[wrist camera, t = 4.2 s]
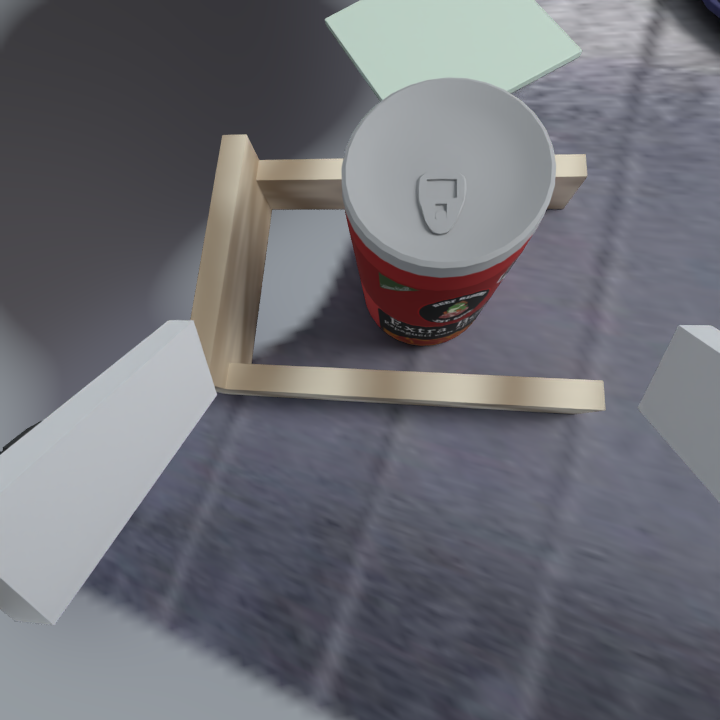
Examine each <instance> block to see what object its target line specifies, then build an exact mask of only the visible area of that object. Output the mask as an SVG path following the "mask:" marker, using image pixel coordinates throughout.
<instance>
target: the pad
mask: <svg viewBox="0 0 720 720" xmlns="http://www.w3.org/2000/svg"><path fill="white" fill-rule="evenodd" d="M325 23H326V26H327V27H328V29H329V30H330V31H331V33H332V34H333V36H334V37H335V38H336V40H337V41H338V43H339V44H340V45H341V47H342V48H343V49H344V51H345V52H346V54H347V55H348V57H349V58H350V60H351V61H352V62H353V64H354V65H355V67H356V68H357V69H358V71H359V72H360V74H361V75H362V77H363V78H364V79H365V81H366V82H367V84H368V85H369V86H370V88H371V89H372V90H373V92H374V93H375V95H376V96H377V98H378V99H379V100H380V101H382V100H383V99H385V98H386V97H388V96H389V95H390V94H392V93H394V92H396V91H398V90H400V89H402V88H404V87H407V86H409V85H412V84H415V83H419V82H422V81H426V80H431V79H439V78H468V79H473V80H477V81H482V82H486V83H489V84H492V85H494V86H496V87H499V88H501V89H504V90H506V91H507V92H509V93H510V94H511V93H513V92H515V91H516V90H518V89H520V88H522V87H524V86H526V85H528V84H529V83H531V82H533V81H535V80H537V79H539V78H541V77H543V76H544V75H546V74H548V73H550V72H552V71H554V70H556V69H557V68H559V67H561V66H563V65H565V64H567V63H569V62H570V61H572V60H574V59H576V58H578V57H580V55H581V53H582V50H581V49H580V48H579V47H578V46H577V45H576V43H575V42H574V41H573V40H572V39H571V38H570V37H569V36H568V35H567V34H566V33H565V32H564V31H563V30H562V29H561V28H560V27H559V26H558V25H557V24H556V23H555V21H554V20H553V19H552V18H551V17H550V16H549V15H548V14H547V13H546V12H545V11H544V10H543V9H542V8H541V7H540V6H539V5H538V4H537V3H536V2H535V1H534V0H360V1H358V2H356V3H354V4H353V5H351V6H349V7H347V8H345V9H343V10H341V11H339V12H337V13H336V14H334V15H332V16H330V17H328V18H326V19H325Z"/></svg>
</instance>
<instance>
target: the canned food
mask: <svg viewBox="0 0 720 720" xmlns="http://www.w3.org/2000/svg"><path fill="white" fill-rule="evenodd" d="M341 169H342V198H343V202H344V207H345V213H346V218H347V223H348V227H349V231H350V236H351V240H352V244H353V249H354V253H355V257H356V262H357V266H358V270H359V275H360V279H361V284H362V288H363V292H364V297H365V301H366V305H367V308H368V310H369V312H370V314H371V316H372V318H373V319H374V320H375V322H376V323H377V325H378V326H379V327H380V328H381V329H382V330H384V331H385V332H386V333H387V334H388V335H390V336H392V337H393V338H395V339H397V340H399V341H402V342H405V343H408V344H413V345H419V346H426V345H436V344H440V343H444V342H447V341H449V340H451V339H453V338H455V337H457V336H458V335H460V334H461V333H462V332H464V331H465V330H466V329H467V328H468V327H469V326H470V325H471V324H472V323H473V321H474V320H475V319H476V317H477V316H478V315H479V313H480V312H481V310H482V309H483V307H484V306H485V304H486V303H487V302H488V300H489V299H490V297H491V296H492V294H493V293H494V291H495V290H496V289H497V287H498V286H499V284H500V283H501V281H502V280H503V279H504V277H505V276H506V274H507V273H508V271H509V270H510V268H511V267H512V266H513V264H514V263H515V261H516V260H517V258H518V257H519V255H520V254H521V253H522V251H523V250H524V248H525V246H526V244H527V243H528V241H529V240H530V238H531V237H532V235H533V234H534V232H535V231H536V229H537V227H538V225H539V224H540V222H541V220H542V218H543V216H544V214H545V211H546V209H547V207H548V206H549V203H550V200H551V197H552V193H553V190H554V187H555V177H556V162H555V155H554V149H553V145H552V143H551V141H550V138H549V136H548V133H547V131H546V129H545V127H544V126H543V124H542V123H541V121H540V120H539V119H538V117H537V116H536V114H535V113H534V112H533V111H532V110H531V109H530V108H529V107H528V106H527V105H526V104H524V103H523V102H522V101H521V100H520V99H518V98H517V97H515V96H514V95H512V94H510V93H509V92H507V91H506V90H504V89H501V88H499V87H496V86H494V85H492V84H489V83H486V82H482V81H477V80H473V79H468V78H439V79H431V80H426V81H422V82H419V83H415V84H412V85H409V86H407V87H404V88H402V89H400V90H398V91H396V92H394V93H392V94H390V95H389V96H388V97H386V98H385V99H383V100H382V101H380V102H379V103H378V104H376V105H375V106H374V107H373V108H372V109H371V110H370V111H369V112H368V113H367V114H366V115H365V116H364V117H363V118H362V120H361V121H360V123H359V124H358V126H357V127H356V129H355V130H354V131H353V133H352V135H351V137H350V140H349V142H348V144H347V147H346V149H345V153H344V158H343V163H342V168H341Z"/></svg>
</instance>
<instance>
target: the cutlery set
mask: <svg viewBox="0 0 720 720" xmlns="http://www.w3.org/2000/svg"><path fill="white" fill-rule="evenodd" d="M702 1H703V3H704V4H705V6H706V7H707V8H708V9H709V10H710V11H711V12H712V13H714V14H715V15H716V16H718V17H719V18H720V0H702Z"/></svg>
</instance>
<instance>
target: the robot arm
mask: <svg viewBox="0 0 720 720" xmlns="http://www.w3.org/2000/svg"><path fill="white" fill-rule="evenodd" d="M216 396H217V393H216V390H215V386H214V383H213V380H212V377H211V374H210V371H209V368H208V364H207V361H206V358H205V355H204V352H203V349H202V346H201V342H200V339H199V336H198V333H197V330H196V327H195V324H194V320H168V321H167V322H166V323H165V324H163V325H162V326H161V327H160V328H158V329H157V330H156V331H155V332H153V333H152V334H151V335H150V336H148V337H147V338H146V339H145V340H143V341H142V342H141V343H140V344H138V345H137V346H136V347H135V348H133V349H132V350H131V351H130V352H128V353H127V354H126V355H125V356H123V357H122V358H121V359H119V360H118V361H117V362H116V363H114V364H113V365H112V366H111V367H109V368H108V369H107V370H106V371H105V372H103V373H102V374H101V375H99V376H98V377H97V378H96V379H95V380H93V381H92V382H91V383H89V384H88V385H87V386H86V387H85V388H83V389H82V390H81V391H79V392H78V393H77V394H76V395H74V396H73V397H72V398H71V399H70V400H68V401H67V402H66V403H65V404H63V405H62V406H61V407H59V408H58V409H57V410H56V411H54V412H53V413H52V414H51V415H49V416H48V417H47V418H46V419H44V420H42V421H40V422H38V423H37V424H35V425H33V426H31V427H29V428H27V429H26V430H25V431H24V432H22V433H21V434H20V435H18V436H17V437H16V438H14V439H13V440H12V441H11V442H9V443H8V444H7V445H6V446H4V447H3V451H2V452H0V609H1V610H2V611H3V612H4V613H6V614H7V615H8V616H9V617H11V618H12V619H13V620H14V621H17V622H26V623H35V624H44V625H55V624H56V622H57V621H58V619H59V618H60V616H61V615H62V614H63V612H64V610H65V609H66V608H67V607H68V605H69V604H70V602H71V601H72V599H73V598H74V597H75V595H76V594H77V592H78V591H79V590H80V588H81V587H82V585H83V584H84V582H85V581H86V580H87V578H88V577H89V575H90V574H91V573H92V571H93V570H94V568H95V567H96V565H97V564H98V563H99V561H100V560H101V558H102V557H103V556H104V554H105V553H106V551H107V550H108V549H109V547H110V546H111V544H112V543H113V541H114V540H115V539H116V537H117V536H118V534H119V533H120V532H121V530H122V529H123V527H124V526H125V524H126V523H127V522H128V520H129V519H130V517H131V516H132V515H133V513H134V512H135V510H136V509H137V507H138V506H139V505H140V503H141V502H142V500H143V499H144V498H145V496H146V495H147V493H148V492H149V490H150V489H151V488H152V486H153V485H154V483H155V482H156V481H157V479H158V478H159V476H160V475H161V473H162V472H163V471H164V469H165V468H166V466H167V465H168V464H169V462H170V461H171V459H172V458H173V456H174V455H175V454H176V452H177V451H178V449H179V448H180V447H181V445H182V444H183V442H184V441H185V439H186V438H187V437H188V435H189V434H190V432H191V431H192V430H193V428H194V427H195V425H196V424H197V423H198V421H199V420H200V418H201V417H202V415H203V414H204V413H205V411H206V410H207V408H208V407H209V406H210V404H211V403H212V401H213V400H214V398H215V397H216ZM638 409H639V411H640V412H641V413H642V414H643V415H644V416H645V417H646V419H647V420H648V421H649V422H650V423H651V424H652V426H653V427H654V428H655V429H656V430H657V431H658V432H659V434H660V435H661V436H662V437H663V438H664V439H665V441H666V442H667V443H668V444H669V445H670V446H671V447H672V449H673V450H674V451H675V452H676V453H677V454H678V455H679V457H680V458H681V459H682V460H683V461H684V462H685V464H686V465H687V466H688V467H689V468H690V469H691V470H692V472H693V473H694V474H695V475H696V476H697V477H698V479H699V480H700V481H701V482H702V483H703V484H704V485H705V487H706V488H707V489H708V490H709V491H710V492H711V493H712V495H713V496H714V497H715V498H716V499H717V500H718V502H719V503H720V330H718V329H716V328H715V327H713V326H708V325H679V326H678V328H677V330H676V332H675V334H674V336H673V338H672V340H671V342H670V344H669V346H668V348H667V350H666V352H665V354H664V356H663V358H662V360H661V362H660V364H659V366H658V368H657V370H656V372H655V374H654V376H653V378H652V380H651V382H650V384H649V386H648V388H647V390H646V392H645V394H644V396H643V398H642V400H641V402H640V404H639V406H638Z"/></svg>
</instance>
